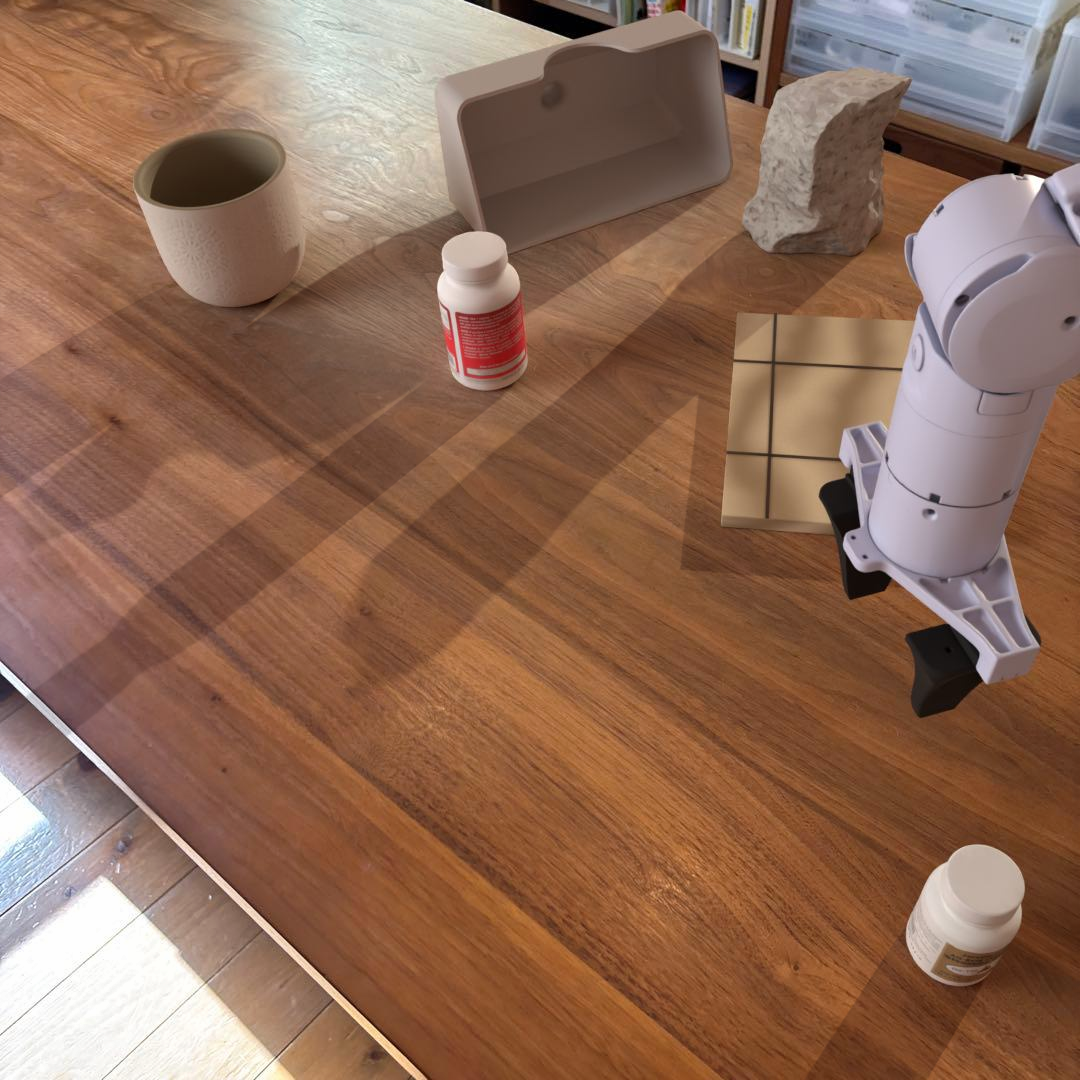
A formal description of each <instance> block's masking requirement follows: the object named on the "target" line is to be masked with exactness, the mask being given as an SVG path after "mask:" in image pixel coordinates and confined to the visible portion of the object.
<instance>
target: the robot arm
mask: <svg viewBox="0 0 1080 1080" xmlns="http://www.w3.org/2000/svg"><path fill="white" fill-rule="evenodd" d="M904 261H905V263H906V267H907V269H908V272H909V275H910V277H911V279H912V281H913V283H914V284H915V286H916V287H917V288H918V289H919V290H920V292H921V294H922V297H923V301H922V302H921V303H920V304H919V306H918V307H917V311H916V315H915V319H914V321H915V324H914V328H913V332H912V336H911V341H910V345H909V349H908V354H907V356H906V359H905V362H904V365H903V370H902V374H901V378H900V383H899V387H898V391H897V396H896V400H895V404H894V409H893V413H892V417H891V422H890V426H889V430H888V429H887V428H886V427H885V426H884V424H883V423H882V422H881V421H876V422H871V423H867V424H863V425H859V426H855V427H851V428H847V429H844V431H843V436H842V441H841V447H840V452H839V458H840V459H841V461H842V462H843V464H844V465H845V467H846V468H849V469H850V474H849V473H846V475H845V478H842V479H838V480H834V481H830V482H828V483H826V484H824V485H823V486H822V487H821V489H820V491H819V499H820V500H821V502H822V504H823V506H824V507H825V509H826V512H827V514H828V516H829V519H830V521H831V524H832V527H833V530H834V533H835V535H834V538H835V541H836V545H837V551H838V557H839V558H838V559H839V567H840V574H841V582H842V587H843V590H844V593H845V594H846V596H847V598H848V600H849V601H853V600H857V599H861V598H864V597H868V596H871V595H875V594H879V593H883V592H886V590H887V588H888V587H889V586H890V584H891V582H892V580H894V581H895V582H897V584H899V585H900V586H901V587H902V588H903V589H905V590H906V591H907V592H909V593H910V594H911V595H912V596H914V597H915V598H916V599H917V600H918V601H920V602H921V603H922V604H923V605H925V606H926V607H927V608H928V609H930V610H931V611H932V612H933V613H935V614H936V615H937V616H938V617H939V618H941V619H942V620H943V621H945V622H946V623H942V624H941V623H940V624H938V625H934V626H930V627H928V628H927V627H926V628H922V629H919V630H915V631H912V632H907V633H906V634H905V636H904V641H905V642H906V644H907V646H908V647H909V649H910V651H911V654H912V657H913V664H914V678H913V683H912V687H911V691H910V692H911V693H910V705H911V708H912V710H913V711H914V713H915V714H916V717H917V718H919V719H923V718H927V717H930V716H934V715H937V714H941V713H942V714H943V713H946V712H948V711H952V710H955V709H956V708H957V707H958V706H959V704H961V702H962V701H963V700H964V699H965V698H966V697H967V696H968V695H969V694H970V693H971V692H972V691H973V690H974V689H976V688H977V687H978V686H979V685H980V684H982V683H983V682H984V684H985V685H992V684H996V683H999V682H1000V683H1001V682H1004V681H1008V680H1011V679H1015V678H1018V677H1021V676H1024V675H1028V674H1029V673H1030V671H1031V669H1032V667H1033V664H1034V663H1035V660H1036V658H1037V656H1038V654H1039V652H1040V650H1041V646H1042V638H1041V635H1040V633H1039V631H1038V630H1037V628H1036V627H1035V625H1034V624H1033V623H1032V621H1031V620H1030V619H1029V617H1028V615H1027V614H1026V613H1025V611H1024V610H1023V606H1022V602H1021V597H1020V594H1019V589H1018V586H1017V585H1018V584H1017V581H1016V577H1015V573H1014V569H1013V565H1012V561H1011V557H1010V553H1009V548H1008V545H1007V540H1006V536H1005V531H1006V528H1007V525H1008V523H1009V520H1010V517H1011V515H1012V512H1013V509H1014V507H1015V503H1016V501H1017V498H1018V496H1019V493H1020V490H1021V488H1022V486H1023V482H1024V479H1025V477H1026V474H1027V472H1028V468H1029V466H1030V464H1031V460H1032V458H1033V456H1034V452H1035V451H1036V447H1037V444H1038V442H1039V439H1040V437H1041V433H1042V431H1043V429H1044V426H1045V423H1046V420H1047V417H1048V415H1049V412H1050V410H1051V408H1052V405H1053V402H1054V399H1055V396H1056V393H1057V390H1058V389H1059V386H1060V385H1062V384H1064V383H1066V382H1068V381H1070V380H1072V379H1073V378H1075V377H1077V376H1079V375H1080V162H1078V163H1075V164H1073V165H1070V166H1068V167H1065V168H1063V169H1061V170H1058V171H1056V172H1054V173H1053V174H1052V175H1050V176H1048V177H1046V178H1041V177H1039V176H1035V175H1032V174H1026V173H1024V174H1023V176H1020V175H1015V174H1014V173H1002V174H992V175H987V176H983V177H980V178H976V179H974V180H971V181H969V182H967V183H965V184H963V185H961V186H960V187H957V188H956V189H954V190H953V191H951V192H950V193H949V194H948V195H947V196H945V198H943V199H942V200H941V201H940V202H939V203H938V204H937V205H936V206H935V207H934V209H933V210H932V212H930V214H928V217H927V218H926V219H925V220H924V221H923V224H922V225H921V227H920V229H919V230H918V232H913V233H909V234H908V235H907V236H906V237H905V240H904Z"/></svg>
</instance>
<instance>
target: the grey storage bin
mask: <svg viewBox="0 0 1080 1080" xmlns="http://www.w3.org/2000/svg"><path fill="white" fill-rule="evenodd" d="M725 95H726V94H725V86H724V79H723V69H722V63H721V54H720V46H719V42H718V38H717V36H716V35H715V34H714V33H713V32H712V31H711V30H709V29H708V28H706V26H703V25H702V24H701V23H699V22H698V21H697V20H695V19H693V18H692V16H690V15H688V14H687V13H685V12H684V11H682V10H673V11H672V10H671V11H669V12H666V13H662V14H658V15H655V16H652V17H648V18H645V19H641V20H638V21H635V22H630V23H628V24H624V25H621V26H617V27H614V28H610V29H606V30H603V31H599V32H596V33H593V34H590V35H585V36H582V37H578V38H575V39H571V40H567V41H564V42H561V43H557V44H554V45H551V46H547V47H543V48H540V49H537V50H533V51H529V52H526V53H523V54H520V55H519V54H518V55H516V56H513V57H509V58H505V59H502V60H501V59H500V60H498V61H495V62H491V63H487V64H485V65H481V66H477V67H474V68H470V69H467V70H463V71H460V72H456V73H453V74H450V75H446V76H444V77H443V78H442V79H441V80H439V82H438V83H437V85H436V87H435V89H434V96H433V97H434V102H435V110H436V117H437V123H438V130H439V138H440V145H441V151H442V159H443V164H444V172H445V179H446V185H447V193H448V199H449V201H450V202H451V204H452V205H453V206H454V207H455V208H456V209H457V210H458V212H459V213H460V215H461V216H463V218H464V220H465V221H466V222H467V224H468V225H469V226H470V227H471V229H472V230H473V232H475V231H482V232H489V233H493V234H495V235H498V236H499V237H501V238H502V239H503V241H504V242H505V244H506V250H507V256H508V255H511V254H513V253H516V252H519V251H522V250H526V249H528V248H531V247H534V246H538V245H541V244H543V243H546V242H549V241H553V240H556V239H559V238H562V237H564V236H565V237H566V236H568V235H571V234H573V233H578V232H579V231H580V232H581V231H583V230H585V229H588V228H591V227H594V226H597V225H600V224H604V223H607V222H610V221H613V220H615V219H618V218H621V217H624V216H627V215H631V214H633V213H636V212H637V213H638V212H640V211H643V210H646V209H648V208H649V209H650V208H653V207H655V206H657V205H662V204H664V203H667V202H669V201H673V200H675V199H679V198H681V197H684V196H689V195H690V194H694V193H697V192H699V191H700V192H701V191H703V190H706V189H709V188H711V187H715V186H717V185H721V184H723V183H725V182H726V181H727V180H728V179H729V178H730V176H731V174H732V172H733V167H734V161H733V159H734V158H733V151H732V144H731V134H730V127H729V119H728V111H727V103H726V102H727V101H726V96H725Z"/></svg>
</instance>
